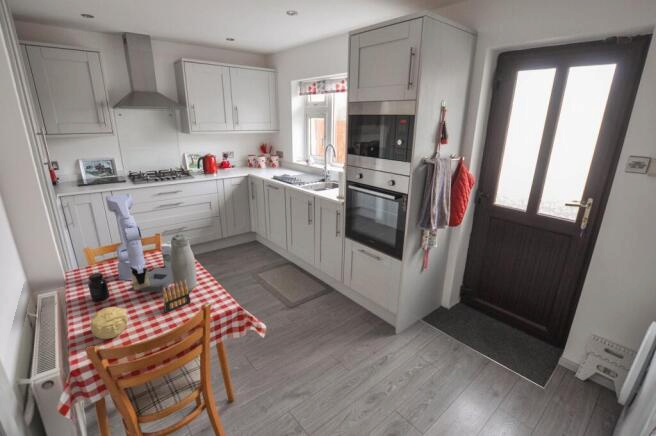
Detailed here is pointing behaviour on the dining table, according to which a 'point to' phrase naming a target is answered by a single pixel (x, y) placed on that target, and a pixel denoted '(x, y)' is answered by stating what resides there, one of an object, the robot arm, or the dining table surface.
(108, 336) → the sculpture
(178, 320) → the dining table surface
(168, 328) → the dining table surface
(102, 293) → the supplement bottle
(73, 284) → the dining table surface
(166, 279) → the slot board
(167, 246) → the syrup box
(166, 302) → the ammunition clip
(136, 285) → the peg
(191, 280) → the grey bottle
